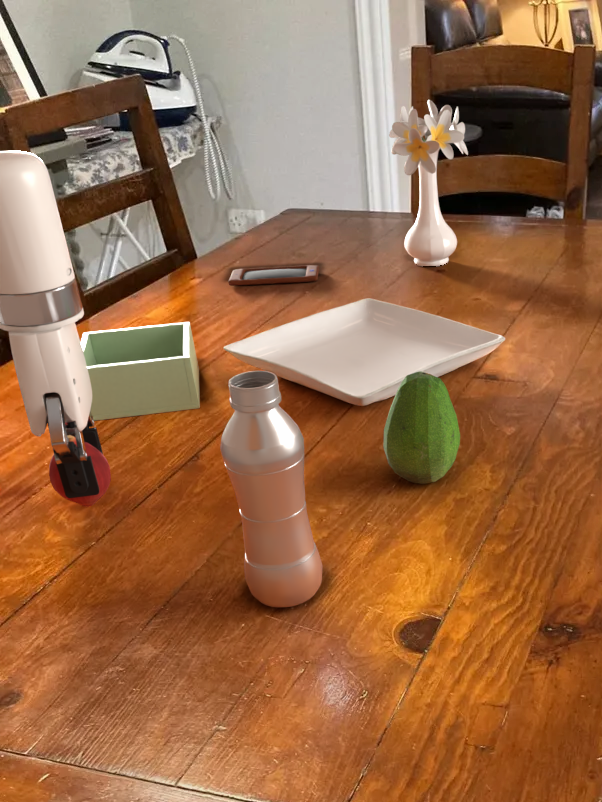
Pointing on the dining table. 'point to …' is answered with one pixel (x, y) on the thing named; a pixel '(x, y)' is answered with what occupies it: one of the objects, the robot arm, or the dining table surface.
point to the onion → (100, 470)
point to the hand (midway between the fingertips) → (86, 478)
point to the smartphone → (274, 275)
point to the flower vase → (428, 178)
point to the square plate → (364, 349)
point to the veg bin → (142, 370)
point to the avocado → (421, 429)
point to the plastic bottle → (270, 492)
